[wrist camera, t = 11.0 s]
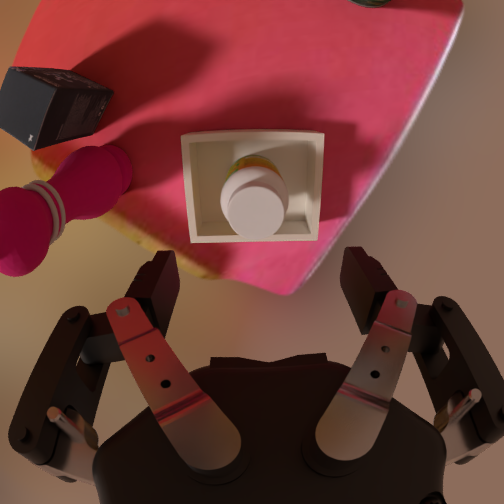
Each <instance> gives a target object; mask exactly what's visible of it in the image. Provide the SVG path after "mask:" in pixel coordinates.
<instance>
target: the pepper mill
mask: <svg viewBox="0 0 504 504" xmlns="http://www.w3.org/2000/svg"><path fill="white" fill-rule="evenodd" d="M131 180H132V166H131V162H130V160H129V158H128V156H127V155H126V153H125V152H124V151H123V150H122V149H120V148H118V147H116V146H114V145H103V146H100V147H98V146H86V147H82V148H80V149H78V150H76V151H74V152H73V153H71V154H70V155H69V156H68V157H67V158H66V159H65V160H64V161H63V162H62V163H61V164H60V166H59V167H58V169H57V171H56V172H55V174H54V175H53V177H52V178H51V179H50V180H48V181H47V182H45V181H42V180H35V181H32V182H30V183H29V184H27V185H25V186H23V187H21V188H20V187H8V188H5V189H3V190H1V191H0V272H1V273H3V274H5V275H8V276H13V277H17V276H23V275H26V274H28V273H30V272H32V271H33V270H34V269H35V268H36V267H38V266H39V265H40V264H41V262H42V261H43V260H44V258H45V256H46V254H47V252H48V248H49V246H50V245H51V244H52V243H53V242H54V241H55V240H57V239H58V238H59V237H60V236H61V235H62V233H63V231H64V228H65V224H66V223H68V222H69V221H71V220H73V219H80V220H84V219H85V220H86V219H92V218H96V217H99V216H101V215H103V214H105V213H106V212H108V211H109V210H110V209H112V208H113V206H114V205H115V204H116V203H117V201H118V199H119V197H120V196H121V195H122V194H123V193H124V192H125V191H126V190H127V189H128V187H129V185H130V183H131Z"/></svg>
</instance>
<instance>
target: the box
mask: <svg viewBox="0 0 504 504" xmlns="http://www.w3.org/2000/svg"><path fill="white" fill-rule="evenodd" d="M113 94H114V92H113V90H111V89H108V88H106V87H104V86H102V85H100V84H98V83H96V82H94V81H91V80H89V79H87V78H85V77H83V76H81V75H78V74H77V73H74V72H72V71H70V70H63V69H54V68H37V67H9V69H8V71H7V73H6V76H5V79H4V81H3V84H2V87H1V90H0V128H1V129H2V130H4V131H6V132H7V133H9V134H10V135H12V136H13V137H15V138H16V139H18V140H19V141H20V142H22V143H23V144H25V145H26V146H28V147H29V148H30V149H32V150H33V151H35V150H37V149H41V148H44V147H47V146H51V145H55V144H58V143H62V142H65V141H69V140H73V139H77V138H82V137H86V136H90V135H93V134H94V131H95V129H96V127H97V125H98V123H99V121H100V119H101V117H102V114H103V113H104V111H105V109H106V107H107V105H108V103H109V101H110V99H111V97H112V95H113Z"/></svg>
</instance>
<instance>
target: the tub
mask: <svg viewBox="0 0 504 504" xmlns="http://www.w3.org/2000/svg"><path fill="white" fill-rule="evenodd" d="M181 149H182V162H183V174H184V185H185V196H186V205H187V215H188V223H189V232H190V240H191V243H208V242H255V241H317V238H318V227H319V216H320V204H321V190H322V174H323V155H324V133H321V132H317V131H314V130H292V129H238V130H215V131H200V132H189V133H187V134H184V135H181ZM247 155H260V156H263V157H266V158H267V159H269V160H270V161H272V162H273V163H274V164H275V166H276V167H277V169H278V171H279V173H280V175H281V177H282V179H283V181H284V183H285V184H286V187H287V190H288V194H289V205H288V209H287V212H286V214H285V217H284V221H283V223H282V225H281V227H280V228H279V229H278V231H277V232H276V233H274V234H273V235H271V236H269V237H267V238H264V239H259V240H252V239H247V238H244V237H242V236H240V235H239V234H237V233H236V232H235V231H234V230H233V229H232V227H231V226H230V224H229V221H228V220H227V219H226V217H225V216H224V214H223V211H222V208H221V202H220V200H221V192H222V188H223V185H224V182H225V179H226V176H227V173H228V171H229V169H230V167H231V166H232V164H233V163H234V162H235V161H236V160H238V159H239V158H241V157H244V156H247Z"/></svg>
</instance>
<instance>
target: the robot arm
mask: <svg viewBox="0 0 504 504" xmlns="http://www.w3.org/2000/svg"><path fill="white" fill-rule="evenodd" d="M340 284H341V288H342V290H343V292H344V295H345V297H346V299H347V301H348V304H349V306H350V308H351V311H352V313H353V315H354V317H355V320H356V322H357V325H358V327H359V329H360V332H361V334H362V335H365V334H368V336H367V338H366V340H365V342H364V344H363V346H362V348H361V350H360V353H359V355H358V357H357V358H356V361H355V362H354V364H353V366H352V368H350V367H348V366H345V365H343V364H340V363H337V362H332V361H328V360H327V356H326V353H317V354H305V355H297V356H293V357H289V358H285V359H282V360H278V361H274V362H262V361H257V360H251V359H246V358H240V357H211V360H210V365H209V366H205V367H201V368H199V369H196V370H193V371H191V372H190V373H188V371H187V370H186V369H185V367H184V366H183V365H182V363H181V362H180V361H179V359H178V358H177V356H176V355H175V353H174V352H173V351H172V349H171V348H170V346H169V345H168V343H167V342H166V340H165V336H166V333H167V329H168V326H169V322H170V319H171V315H172V312H173V309H174V306H175V303H176V299H177V296H178V293H179V289H180V279H179V274H178V268H177V263H176V257H175V253H174V251H173V250H168V251H157V253H156V255H155V256H154V258H153V260H152V261H148V262H146V263H145V264H144V265H143V266H141V268H140V269H139V271H138V272H137V275H136V276H135V278H134V281H132V283H131V285H130V287H129V289H128V291H127V292H126V294H125V296H124V298H120V299H117V300H115V301H113V302H112V303H111V304H110V305H109V306H108V308H107V310H106V312H104V313H99V314H94V315H90V314H89V311H88V309H87V308H86V307H84V306H75V307H72V308H70V309H68V310H67V311H65V313H63V314H62V316H61V318H60V319H59V321H58V323H57V325H56V326H55V328H54V330H53V332H52V334H51V335H50V337H49V339H48V341H47V343H46V345H45V347H44V349H43V351H42V353H41V354H40V356H39V358H38V361H37V363H36V365H35V367H34V369H33V371H32V373H31V375H30V377H29V380H28V382H27V384H26V386H25V389H24V391H23V393H22V396H21V398H20V401H19V403H18V406H17V409H16V411H15V414H14V416H13V419H12V422H11V425H10V428H9V433H8V438H9V442H10V445H11V446H12V448H13V449H14V450H15V451H16V452H18V453H19V454H21V455H22V456H24V457H25V458H27V459H28V460H29V461H30V462H31V463H32V464H34V465H36V466H37V467H39V468H40V469H42V470H44V471H45V472H47V473H49V474H51V475H53V476H56V477H58V478H59V479H61V480H63V481H65V482H75V481H77V480H78V481H81V482H84V483H88V484H91V485H94V486H96V489H97V492H98V496H99V500H100V504H447V503H446V502H445V499H444V496H443V475H444V469H445V466H446V465H449V464H451V463H456V464H459V465H460V464H465V463H467V462H469V461H470V460H472V459H473V458H475V457H476V456H478V455H479V454H480V453H482V452H483V451H485V450H486V449H487V448H489V447H490V446H491V445H493V444H494V443H495V442H497V441H498V440H499V439H500V438H502V437H503V436H504V380H503V378H502V376H501V374H500V372H499V370H498V368H497V366H496V365H495V363H494V361H493V359H492V357H491V356H490V354H489V352H488V351H487V349H486V347H485V345H484V344H483V342H482V340H481V339H480V337H479V335H478V334H477V332H476V331H475V329H474V328H473V326H472V325H471V323H470V321H469V320H468V318H467V317H466V315H465V314H464V312H463V311H462V310H461V308H460V307H459V305H458V304H457V303H456V302H455V301H454V300H452V299H450V298H448V297H445V296H439V297H436V298H435V299H434V301H433V304H432V306H431V305H423V304H417V301H416V299H415V298H414V297H413V296H412V295H411V294H410V293H408V292H406V291H402V290H398V289H397V287H396V286H395V284H394V283H393V281H392V280H391V278H390V277H389V275H387V273H386V271H385V270H384V269H383V267H382V265H381V264H380V262H378V261H377V260H375V259H374V258H373V257H371V256H368V255H367V254H366V252H365V251H364V249H363V248H362V247H346V248H345V250H344V256H343V262H342V267H341V273H340ZM444 342H445V344H446V346H447V347H448V349H449V352H450V358H449V360H448V358H447V356H446V354H445V352H444V350H443V348H442V346H443V344H444ZM407 352H413V355H414V357H415V359H416V362H417V364H418V367H419V369H420V371H421V374H422V377H423V379H424V381H425V384H426V387H427V389H428V392H429V395H430V398H431V400H432V403H433V406H434V408H435V412H436V415H435V417H434V426H433V425H432V424H430V423H429V422H427V421H426V420H424V419H423V418H421V417H420V416H418V415H417V414H416V413H414V412H413V411H411V410H410V409H408V408H407V407H405V406H404V405H403V404H401V403H400V402H398V401H397V400H396V399H394V398H393V397H392V396H393V393H394V390H395V388H396V385H397V382H398V379H399V376H400V373H401V371H402V367H403V364H404V361H405V358H406V355H407ZM79 356H80V358H79ZM78 358H79V361H78V363H77V360H78ZM122 360H126V362H127V365H128V366H129V369H130V371H131V373H132V375H133V377H134V379H135V381H136V383H137V385H138V387H139V388H140V390H141V392H142V394H143V396H144V398H145V400H146V401H147V403H148V405H149V406H148V407H147V408H146V409H144V410H143V411H142V412H141V413H139V414H138V415H137V416H136V417H135V418H134V419H132V420H131V421H130V422H129V423H127V424H126V425H125V426H124V427H122V428H121V429H120V430H119V431H117V432H116V433H115V434H114V435H112V436H111V437H110V438H109V439H107V440H106V441H105V442H104V443H103V444H102V445H101V446H100V447H99V446H98V434H97V432H96V430H95V429H94V428H93V423H94V418H95V414H96V411H97V407H98V404H99V400H100V397H101V393H102V389H103V386H104V383H105V380H106V376H107V373H108V370H109V367H110V364H111V362H116V361H122ZM76 363H77V366H76Z"/></svg>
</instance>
